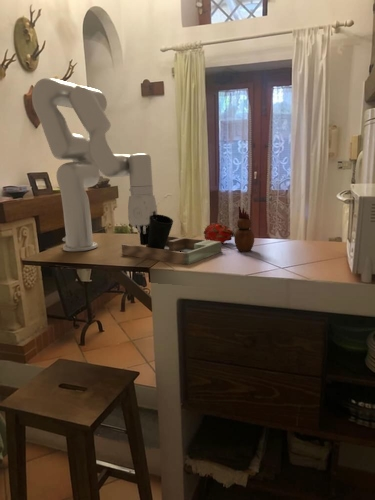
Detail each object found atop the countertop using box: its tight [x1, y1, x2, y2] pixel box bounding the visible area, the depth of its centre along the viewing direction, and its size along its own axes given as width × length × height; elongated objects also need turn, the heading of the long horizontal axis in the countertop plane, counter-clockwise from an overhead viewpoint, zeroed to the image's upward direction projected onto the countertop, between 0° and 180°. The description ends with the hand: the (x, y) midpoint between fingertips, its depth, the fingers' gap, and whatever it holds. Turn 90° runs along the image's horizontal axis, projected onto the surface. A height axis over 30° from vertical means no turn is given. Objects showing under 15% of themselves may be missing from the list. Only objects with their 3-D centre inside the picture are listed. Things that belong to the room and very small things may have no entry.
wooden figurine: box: [233, 206, 255, 253], centre depth 132 cm, size 7×6×15 cm
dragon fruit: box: [203, 222, 235, 245], centre depth 145 cm, size 8×8×12 cm
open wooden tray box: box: [121, 235, 223, 266], centre depth 133 cm, size 28×20×4 cm
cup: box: [147, 213, 174, 250], centre depth 132 cm, size 8×8×12 cm
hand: (145, 244), depth 136 cm, fingers closed
